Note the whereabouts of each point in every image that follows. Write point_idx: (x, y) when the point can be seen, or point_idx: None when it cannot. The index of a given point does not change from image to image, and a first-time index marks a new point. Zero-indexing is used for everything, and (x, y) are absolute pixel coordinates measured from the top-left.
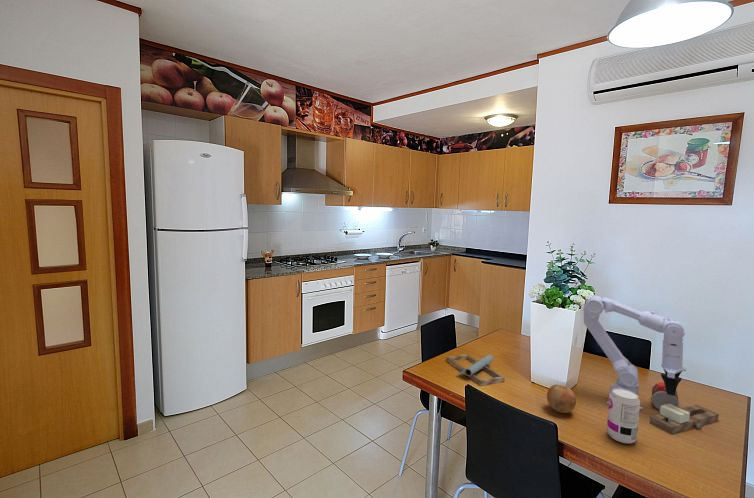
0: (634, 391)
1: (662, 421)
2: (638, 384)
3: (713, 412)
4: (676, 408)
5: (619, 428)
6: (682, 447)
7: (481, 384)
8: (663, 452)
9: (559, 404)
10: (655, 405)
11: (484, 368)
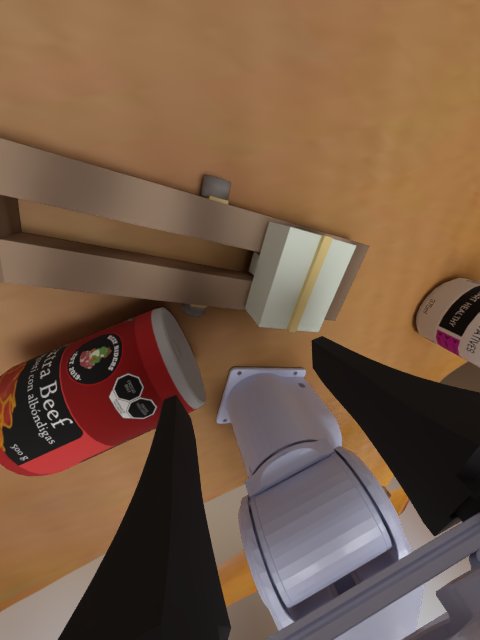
0: (306, 426)
1: (344, 284)
2: (278, 459)
3: None
4: (291, 287)
5: None
6: (413, 185)
7: (385, 489)
8: (465, 214)
9: None
10: (194, 361)
11: None
